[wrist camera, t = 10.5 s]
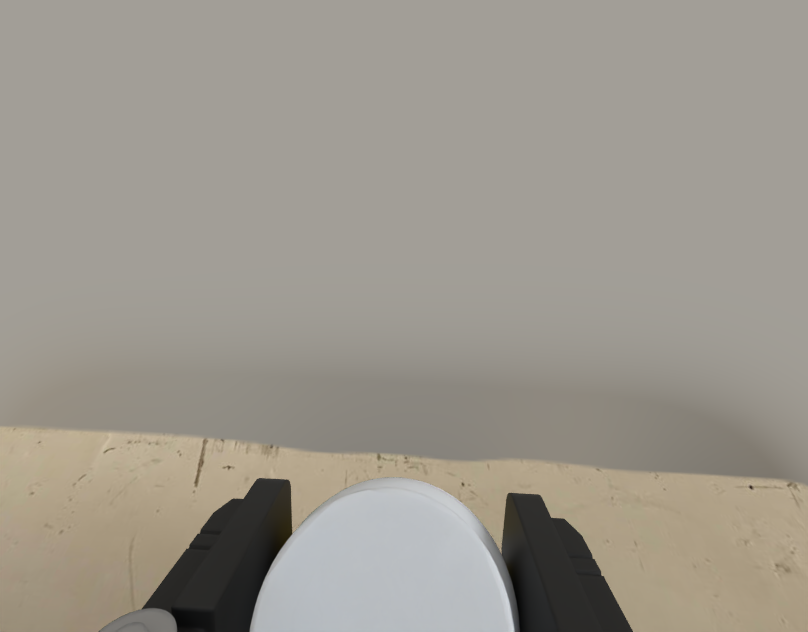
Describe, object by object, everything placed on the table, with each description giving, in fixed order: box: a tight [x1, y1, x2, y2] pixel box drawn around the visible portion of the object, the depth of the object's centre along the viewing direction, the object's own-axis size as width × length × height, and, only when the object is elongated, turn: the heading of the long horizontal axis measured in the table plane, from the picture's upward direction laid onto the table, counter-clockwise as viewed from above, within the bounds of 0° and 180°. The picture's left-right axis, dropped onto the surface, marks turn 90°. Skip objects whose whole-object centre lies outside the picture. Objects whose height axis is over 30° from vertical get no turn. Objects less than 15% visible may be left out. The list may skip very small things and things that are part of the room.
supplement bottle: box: [250, 477, 520, 632], centre depth 10 cm, size 5×5×10 cm
